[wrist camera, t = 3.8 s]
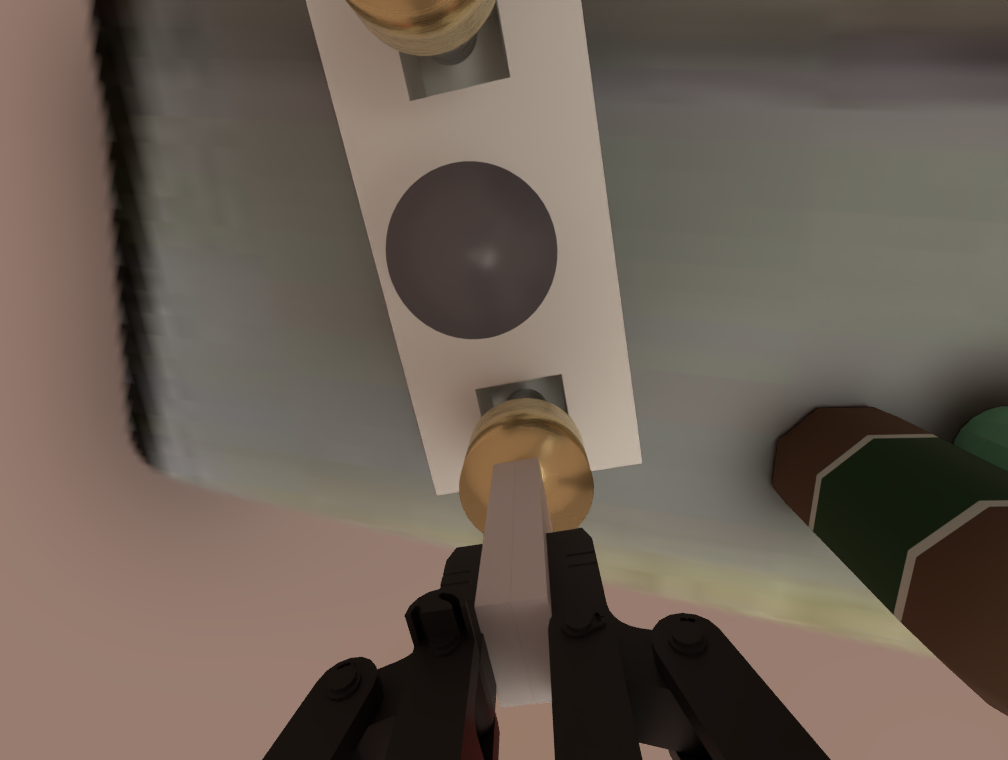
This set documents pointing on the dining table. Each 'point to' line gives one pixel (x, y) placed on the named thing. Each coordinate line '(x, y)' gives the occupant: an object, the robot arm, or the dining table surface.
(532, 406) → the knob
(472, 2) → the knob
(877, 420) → the beer bottle
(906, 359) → the dining table surface
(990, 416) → the mug
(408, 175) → the panel
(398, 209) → the knob mid
